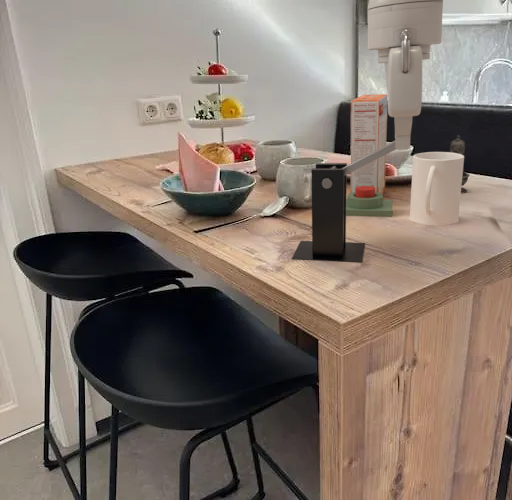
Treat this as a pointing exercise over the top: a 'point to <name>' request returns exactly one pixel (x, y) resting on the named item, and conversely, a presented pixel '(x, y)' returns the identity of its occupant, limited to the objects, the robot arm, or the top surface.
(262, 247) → the top surface
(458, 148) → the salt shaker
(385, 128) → the cracker box
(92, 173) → the top surface
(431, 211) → the mug
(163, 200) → the top surface
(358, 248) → the lever bracket
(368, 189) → the button
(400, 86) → the robot arm
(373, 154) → the press lever
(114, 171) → the top surface
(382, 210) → the button block
